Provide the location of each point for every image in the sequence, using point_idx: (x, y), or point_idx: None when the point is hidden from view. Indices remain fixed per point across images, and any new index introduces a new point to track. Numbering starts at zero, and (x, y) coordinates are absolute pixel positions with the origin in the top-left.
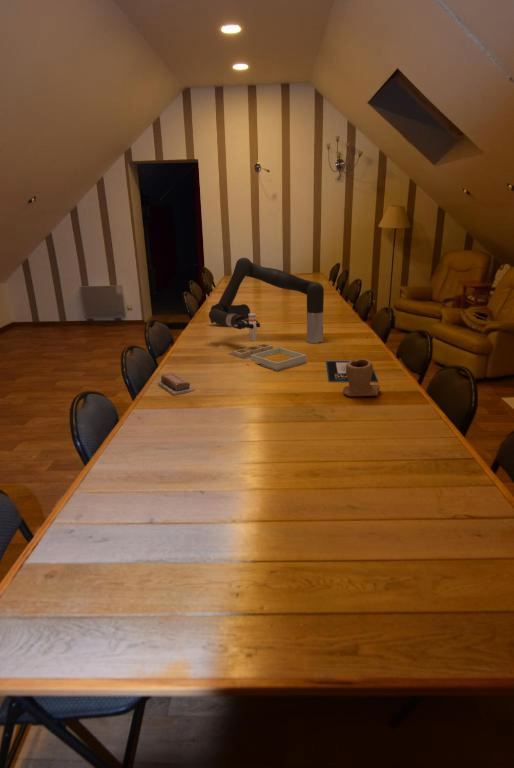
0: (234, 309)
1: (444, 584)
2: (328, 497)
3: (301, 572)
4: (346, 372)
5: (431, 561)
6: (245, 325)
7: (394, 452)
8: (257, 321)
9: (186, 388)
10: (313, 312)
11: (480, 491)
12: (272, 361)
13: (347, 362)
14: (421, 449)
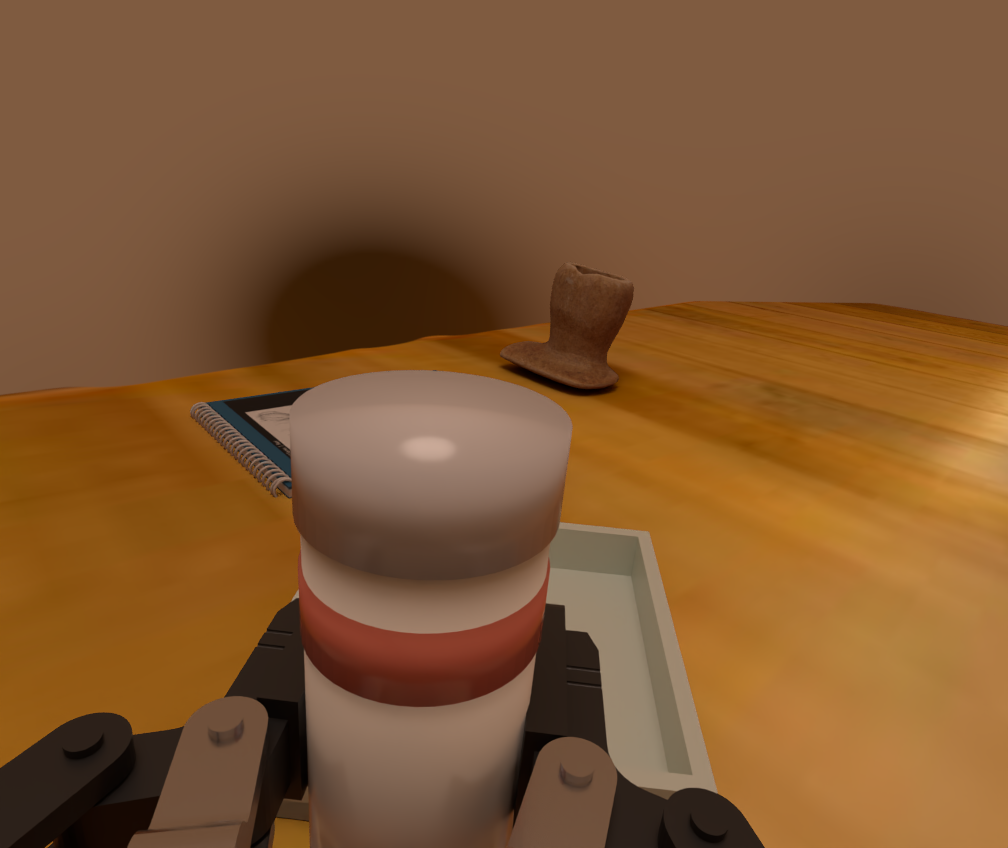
0: None
1: (859, 312)
2: (911, 347)
3: (997, 341)
4: (624, 310)
5: (851, 315)
6: (640, 808)
7: (733, 334)
8: (99, 727)
9: None
10: None
11: (710, 306)
12: (650, 562)
13: (270, 435)
14: (687, 325)
